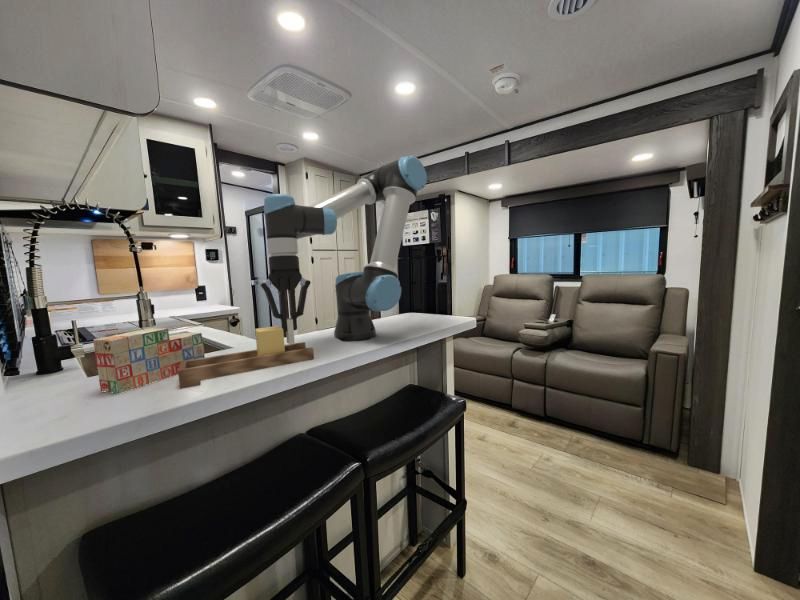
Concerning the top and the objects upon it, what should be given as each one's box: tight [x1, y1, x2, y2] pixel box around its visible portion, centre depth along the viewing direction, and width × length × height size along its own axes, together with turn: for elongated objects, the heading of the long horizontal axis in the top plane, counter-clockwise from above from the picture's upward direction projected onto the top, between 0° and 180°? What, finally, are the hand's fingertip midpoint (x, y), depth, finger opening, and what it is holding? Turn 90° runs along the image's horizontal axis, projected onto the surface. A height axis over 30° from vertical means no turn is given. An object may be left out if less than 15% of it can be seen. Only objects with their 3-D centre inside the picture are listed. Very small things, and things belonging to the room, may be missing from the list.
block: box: [254, 325, 285, 356], centre depth 85 cm, size 6×6×9 cm
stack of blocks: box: [92, 327, 206, 394], centre depth 80 cm, size 21×6×12 cm, turn 162°
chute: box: [177, 341, 315, 389], centre depth 82 cm, size 30×9×4 cm, turn 121°
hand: (290, 342), depth 87 cm, fingers closed
